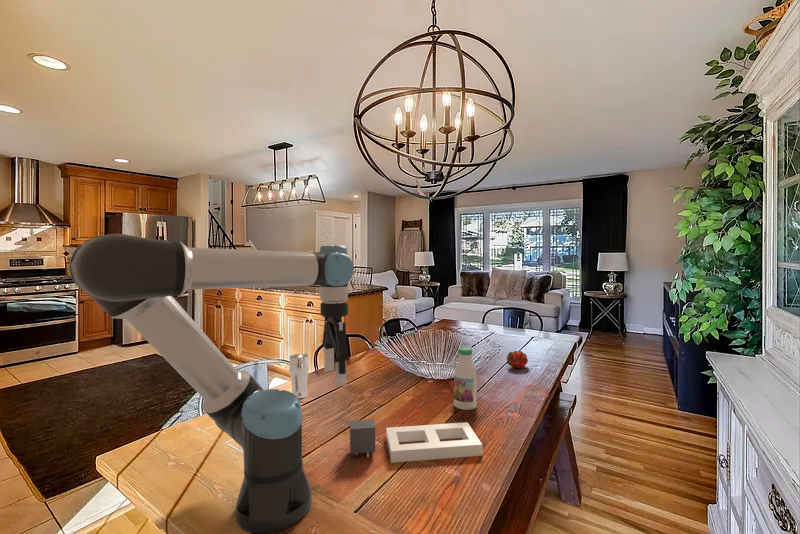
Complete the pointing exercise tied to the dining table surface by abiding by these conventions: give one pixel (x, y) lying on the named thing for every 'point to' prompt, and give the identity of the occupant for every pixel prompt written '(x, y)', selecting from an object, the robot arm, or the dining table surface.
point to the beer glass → (299, 374)
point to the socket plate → (432, 442)
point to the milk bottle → (465, 381)
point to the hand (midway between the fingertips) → (334, 377)
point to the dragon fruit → (517, 359)
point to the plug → (362, 436)
